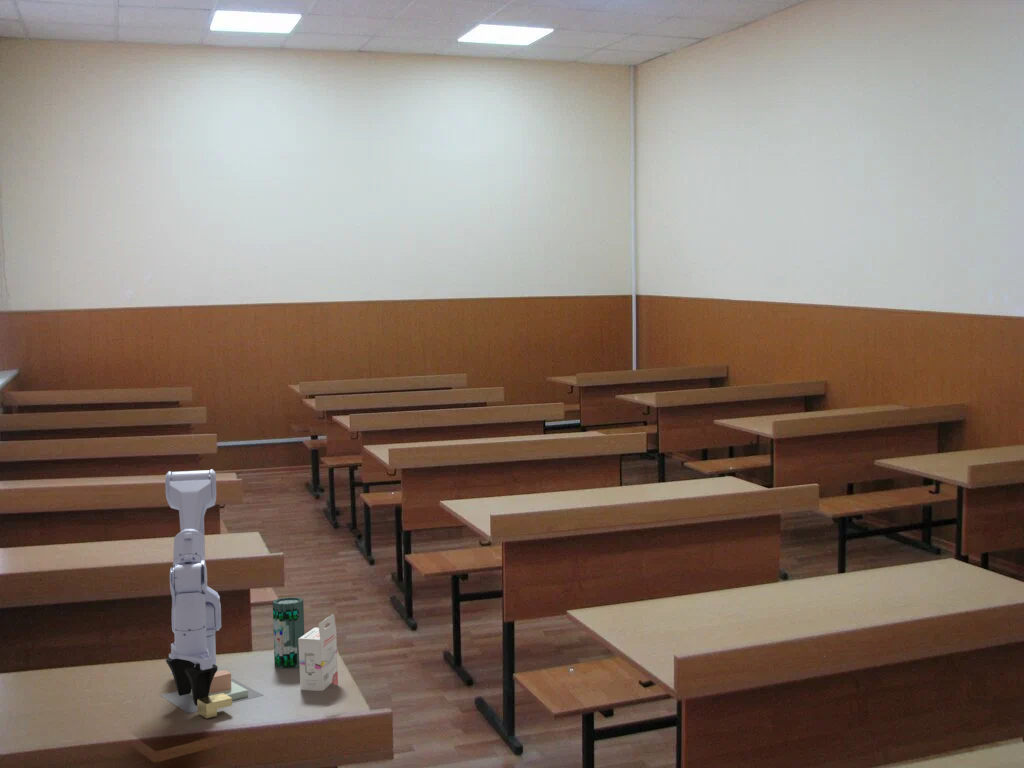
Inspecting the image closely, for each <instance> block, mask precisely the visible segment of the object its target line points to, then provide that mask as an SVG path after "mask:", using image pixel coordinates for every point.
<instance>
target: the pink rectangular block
mask: <svg viewBox="0 0 1024 768" xmlns="http://www.w3.org/2000/svg"><path fill="white" fill-rule="evenodd" d="M231 679H232V674H231V672H229V671H227V670H226V669H222V670H217V672H216V673H215V675H214V677H213V680H212V683H211V686H210V690H209V695H208V696H211V695H216V694H220V693H224V694H226V695H228V696H229V697H231V698H232V700H234V699H239V698H243V697H247V696H248V690H247V689H245V688H243V687H241V686H239V685H238V684H236V683H234V682H232V681H231ZM190 695H191V696H193V695H192V689H191V693H190Z"/></svg>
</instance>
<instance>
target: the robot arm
mask: <svg viewBox="0 0 1024 768" xmlns="http://www.w3.org/2000/svg"><path fill="white" fill-rule="evenodd" d="M216 476H217V474H216V471H215V470H214V468H213V469H210V470H209V469H208V470H206V469H205V470H202V469H201V470H184V471H181V470H180V471H171V470H170V471H167V473H166V474H165V479H164V480H165V483H164V484H165V486H164V487H165V499H166V500H167V505H168V506H169V507H170V508H171V509H174V510H178V515H179V528H180V529H179V530H180V532H178V533H177V534H176V535H175V536H174V538H173V553H172V555H173V557H172V558H173V559H172V567H170V569H169V589H170V594H171V630H172V632H173V634H174V642H172V643H170V649H171V650H170V653H169V654H168V658H166V659H165V662H166V664H167V665H168V667H169V669H170V675H172V676H173V679H174V682H175V686H176V691H178V694H179V695H180V696H182V695H186V694H190V693H191V689H192V695H193V700H194V704H195V705H196V706H197V699H199V698H203V697H207V696H208V695H209V690H210V686H211V683H212V680H213V677H214V675H215V673H216V672H217V671H218V665H217V653H216V652H217V650H216V649H217V648H216V632H218V631H220V629H221V628H222V608H221V607H222V606H221V596H220V595H219V593H218V591H216V590H214V589H213V588H211V587H209V586H208V567H207V565H206V540H205V515H206V512H207V509H210V508H212V507H214V506H216V502H217V477H216Z"/></svg>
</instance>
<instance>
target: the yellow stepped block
mask: <svg viewBox="0 0 1024 768" xmlns="http://www.w3.org/2000/svg"><path fill="white" fill-rule="evenodd" d="M232 706H233V703H232V698H231V697H229V696H228V695H226V694H224V693H220V694H216V695H211V696H207V697H203V698H199V699H197V710H198V712H197V713H198V715H200V716H202V717H203V718H205V719H210V718H214V717H218V710H219V709H223V708H228V707H232Z"/></svg>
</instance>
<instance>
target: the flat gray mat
mask: <svg viewBox="0 0 1024 768" xmlns="http://www.w3.org/2000/svg"><path fill="white" fill-rule="evenodd" d="M231 681H232V682H234V683H236V684H238V685H239V686H241V687H243V688H245V689H247V690H248V696H247V697H243V698H239V699H234V700H232V704H234V703H239V702H242V701H247V700H250V699H253V698H259V697H263V696H264V694H262V693H260V692H258V691H257V690H255V689H253V688H251V687H249V686H247V685H246V684H243V683H241V682H239V681H238V680H235V679H234V678H231ZM159 696H160V697H162V698H163V699H165V700H167V701H168V702H170V703H171V704H173V705H174V706H176V707H177V708H179V709H181V710H182V711H184V712H185V713H187V714H194V713H198V710H197V706H196V705H195V704H194V700H193V696H191V695H190V694H186V695H182V696H180V695H179V694H178V691H177V690H176V691H172V692H167V693H164V694H160V695H159Z"/></svg>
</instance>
